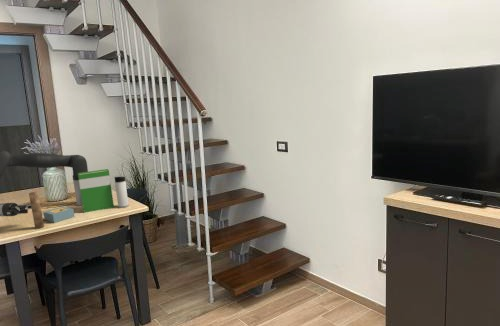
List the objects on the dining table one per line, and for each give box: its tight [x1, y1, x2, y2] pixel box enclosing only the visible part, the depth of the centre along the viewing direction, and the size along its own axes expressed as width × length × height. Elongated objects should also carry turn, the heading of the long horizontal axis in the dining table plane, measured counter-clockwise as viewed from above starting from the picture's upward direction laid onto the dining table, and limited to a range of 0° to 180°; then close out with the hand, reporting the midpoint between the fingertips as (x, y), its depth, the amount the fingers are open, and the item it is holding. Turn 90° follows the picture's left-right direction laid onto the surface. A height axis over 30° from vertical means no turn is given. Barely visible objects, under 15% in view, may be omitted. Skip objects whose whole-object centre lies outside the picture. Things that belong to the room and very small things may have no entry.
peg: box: [28, 191, 45, 230], centre depth 206 cm, size 4×4×20 cm
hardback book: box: [78, 168, 115, 214], centre depth 235 cm, size 18×7×24 cm, turn 116°
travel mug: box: [114, 176, 130, 209], centre depth 236 cm, size 6×7×20 cm
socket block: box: [42, 205, 75, 224], centre depth 221 cm, size 12×12×5 cm
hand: (32, 208), depth 206 cm, fingers open, 8 cm apart
